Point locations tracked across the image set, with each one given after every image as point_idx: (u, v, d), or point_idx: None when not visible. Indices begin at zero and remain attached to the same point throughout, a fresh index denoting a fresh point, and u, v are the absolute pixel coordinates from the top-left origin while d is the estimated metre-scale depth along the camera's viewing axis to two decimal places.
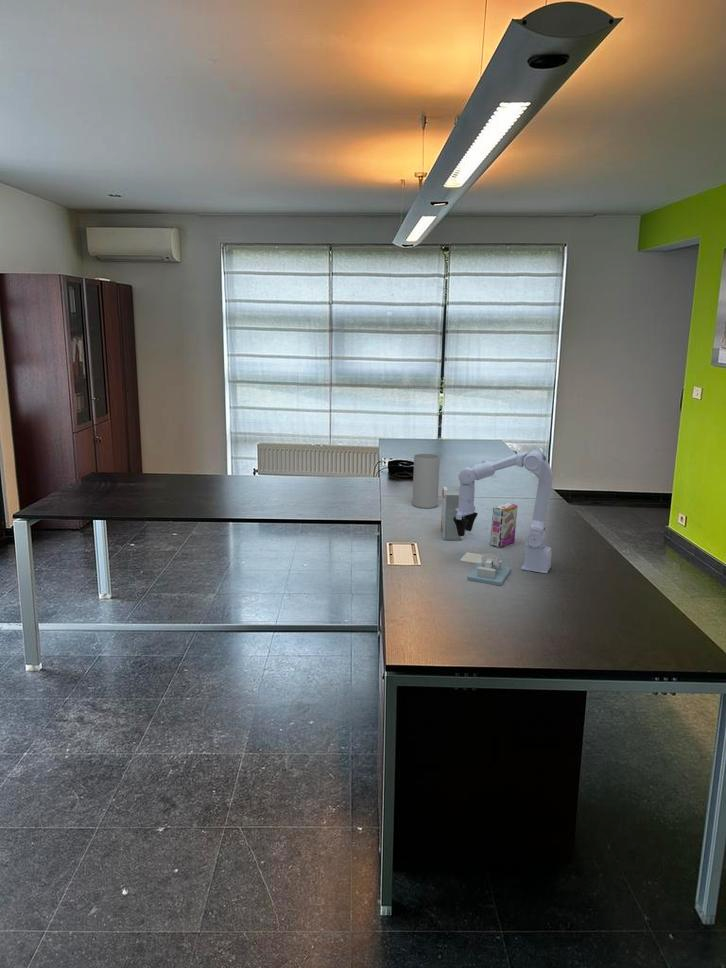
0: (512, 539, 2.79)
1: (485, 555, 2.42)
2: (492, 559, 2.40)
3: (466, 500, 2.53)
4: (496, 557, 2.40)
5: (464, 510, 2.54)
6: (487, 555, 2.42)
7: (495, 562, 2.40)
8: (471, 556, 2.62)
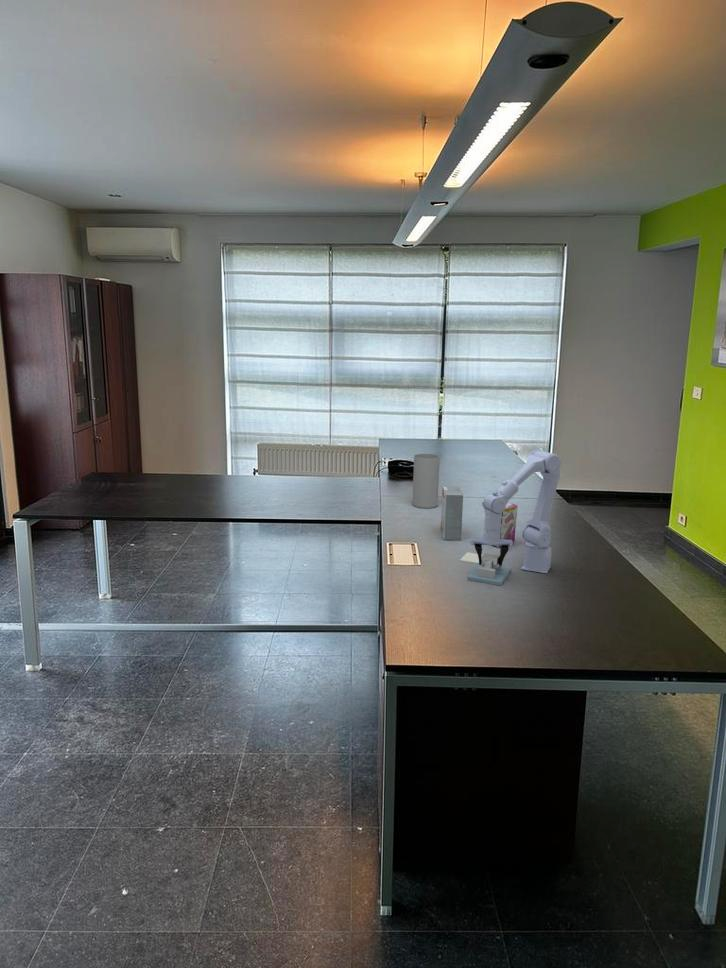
0: (512, 539, 2.79)
1: (485, 555, 2.42)
2: (492, 559, 2.40)
3: (485, 528, 2.39)
4: (496, 557, 2.40)
5: (484, 538, 2.40)
6: (487, 555, 2.42)
7: (495, 562, 2.40)
8: (471, 556, 2.62)
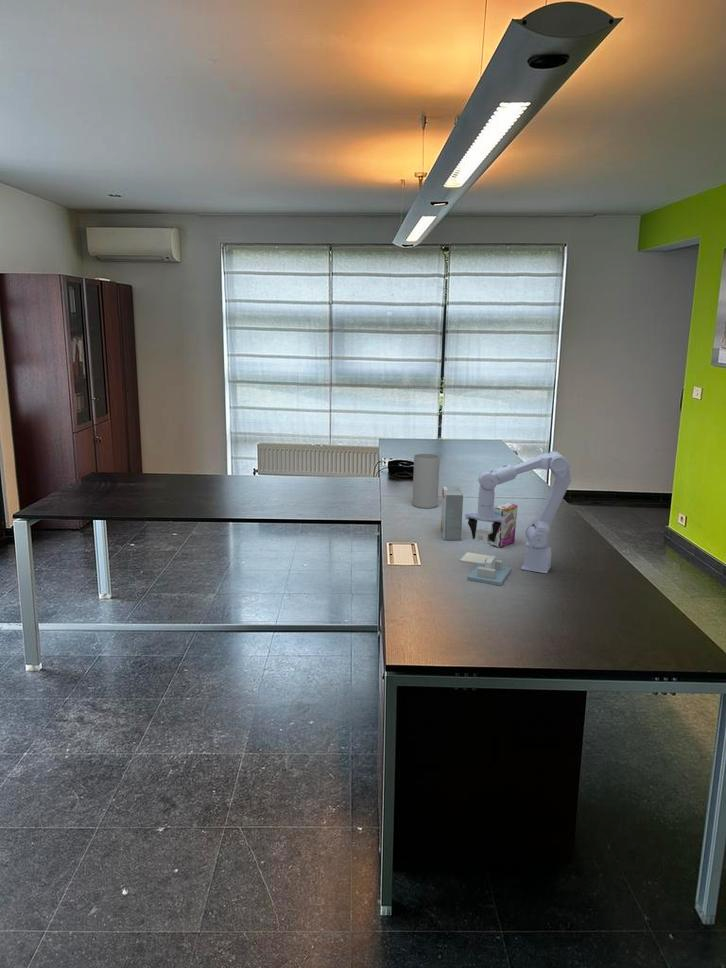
0: (512, 539, 2.79)
1: (479, 530, 2.50)
2: (483, 534, 2.47)
3: (478, 503, 2.47)
4: (488, 533, 2.47)
5: None
6: (480, 531, 2.50)
7: (486, 537, 2.47)
8: (471, 556, 2.62)
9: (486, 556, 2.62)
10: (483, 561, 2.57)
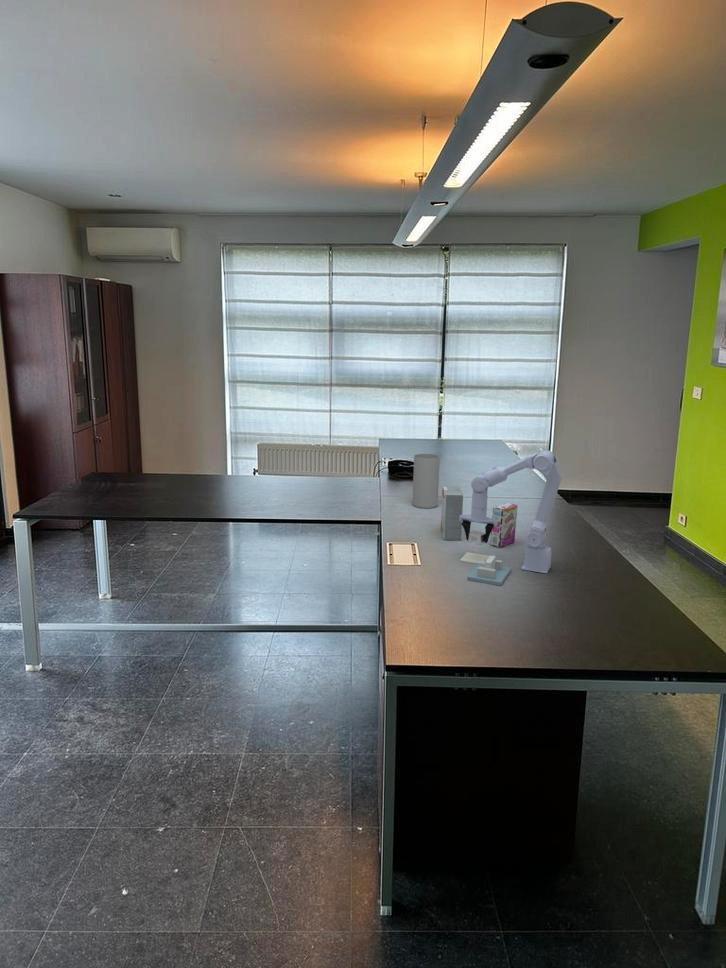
0: (512, 539, 2.79)
1: (473, 532, 2.59)
2: (477, 535, 2.56)
3: None
4: (481, 534, 2.56)
5: (471, 515, 2.57)
6: (474, 532, 2.59)
7: (479, 538, 2.55)
8: (471, 556, 2.62)
9: (486, 556, 2.62)
10: (483, 561, 2.57)
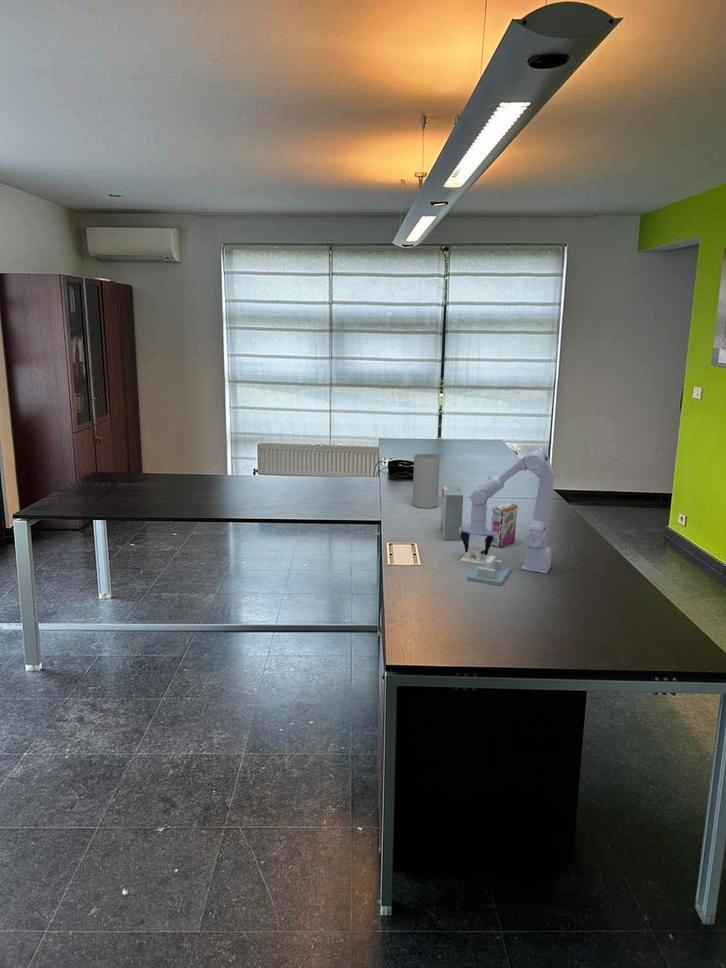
0: (512, 539, 2.79)
1: (472, 548, 2.61)
2: (476, 552, 2.57)
3: (471, 518, 2.57)
4: (480, 550, 2.58)
5: (470, 528, 2.58)
6: (473, 548, 2.60)
7: (478, 555, 2.57)
8: None
9: (486, 556, 2.62)
10: (483, 561, 2.57)
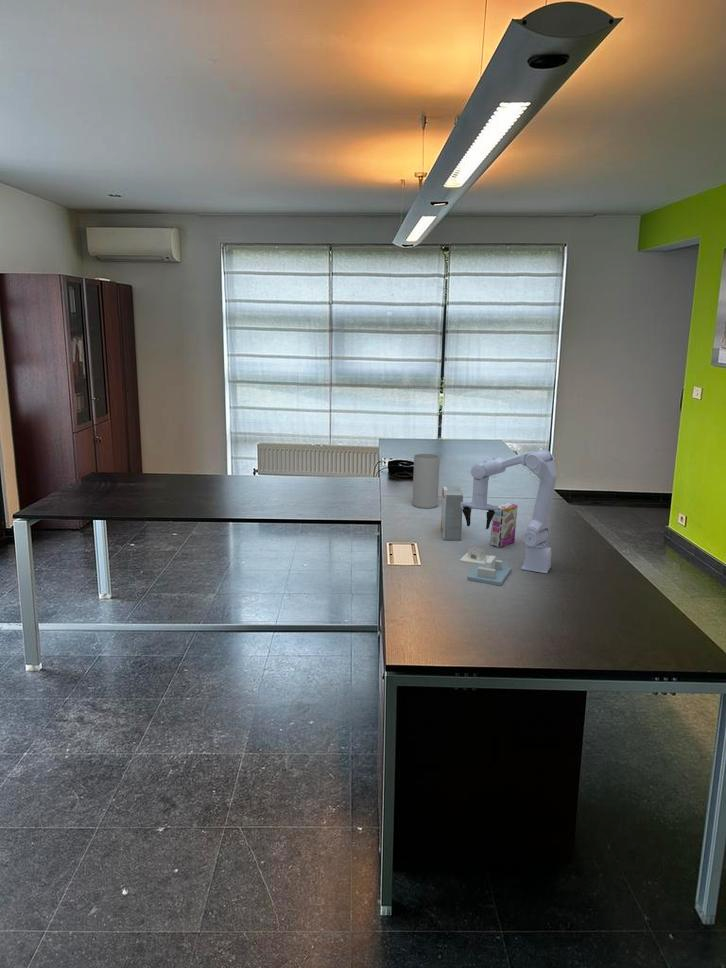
0: (512, 539, 2.79)
1: (472, 548, 2.61)
2: (476, 552, 2.57)
3: None
4: (480, 550, 2.58)
5: (472, 502, 2.64)
6: (473, 548, 2.60)
7: (478, 555, 2.57)
8: None
9: (486, 556, 2.62)
10: (483, 561, 2.57)
